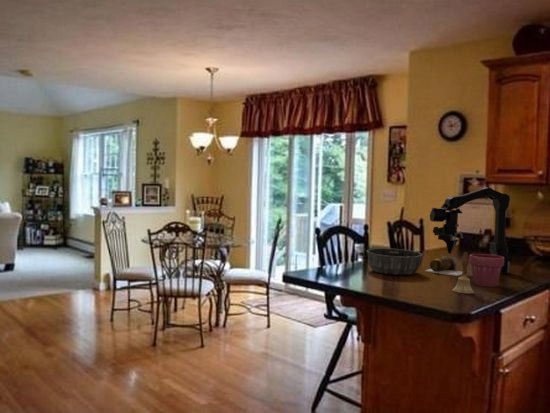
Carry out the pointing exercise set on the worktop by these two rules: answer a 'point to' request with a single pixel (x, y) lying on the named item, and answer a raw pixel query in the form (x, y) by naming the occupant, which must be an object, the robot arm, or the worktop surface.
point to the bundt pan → (394, 261)
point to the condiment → (444, 263)
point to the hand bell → (464, 278)
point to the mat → (445, 272)
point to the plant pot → (486, 268)
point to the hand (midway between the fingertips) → (449, 253)
